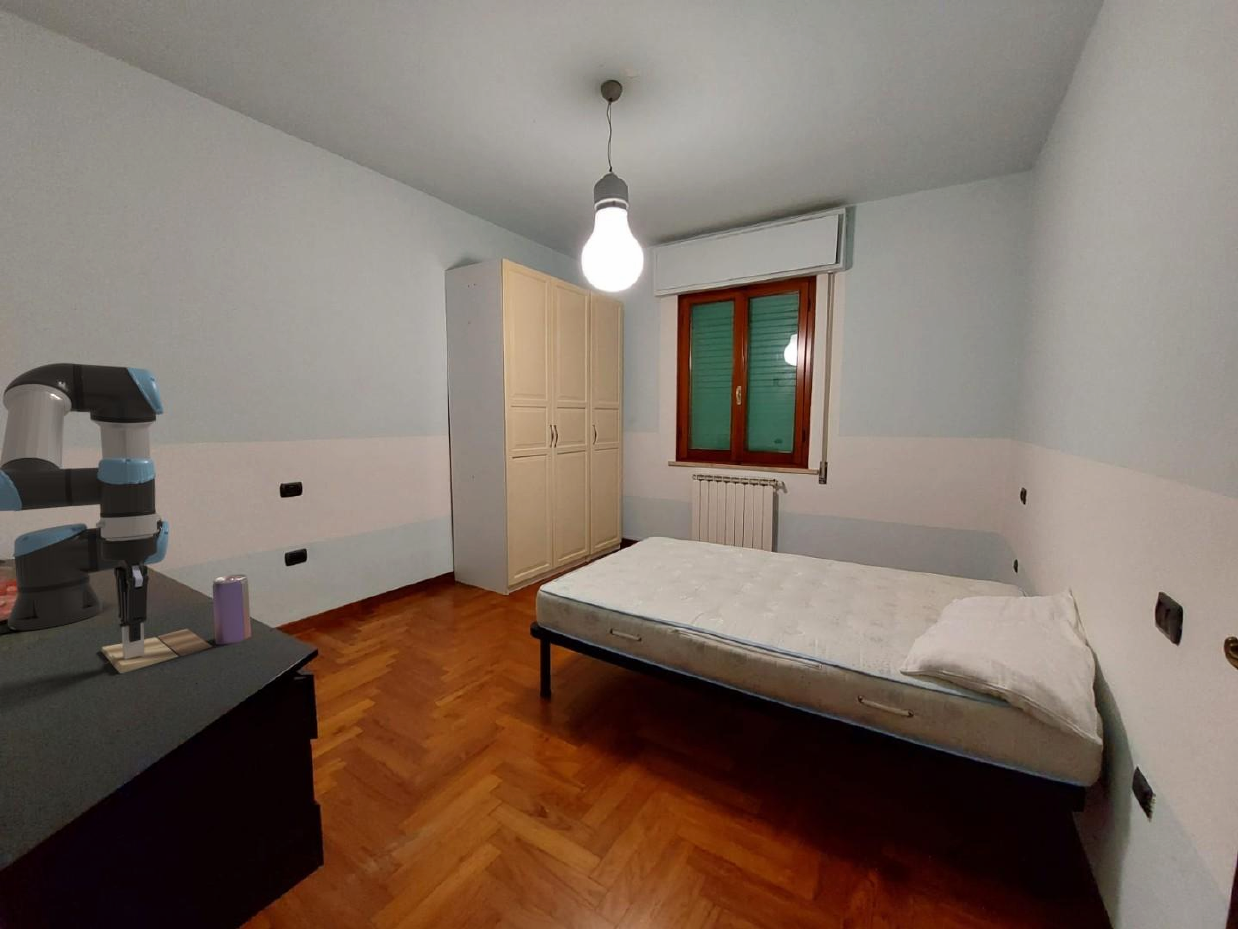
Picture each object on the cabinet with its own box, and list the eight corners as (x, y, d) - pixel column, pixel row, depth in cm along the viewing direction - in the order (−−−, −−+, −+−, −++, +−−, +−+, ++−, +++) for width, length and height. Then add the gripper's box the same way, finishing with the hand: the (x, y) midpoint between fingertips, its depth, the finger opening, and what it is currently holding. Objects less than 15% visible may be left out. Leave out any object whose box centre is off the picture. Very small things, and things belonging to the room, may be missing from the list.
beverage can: (231, 652, 98) (227, 583, 97) (208, 649, 99) (204, 581, 98) (258, 640, 104) (254, 574, 103) (236, 638, 105) (233, 573, 104)
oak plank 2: (110, 662, 91) (111, 654, 91) (165, 653, 97) (166, 646, 98) (120, 673, 86) (121, 665, 86) (177, 664, 93) (178, 656, 93)
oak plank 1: (101, 654, 95) (102, 647, 96) (155, 644, 102) (155, 637, 102) (110, 664, 91) (110, 657, 91) (165, 653, 98) (166, 646, 98)
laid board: (157, 643, 103) (157, 636, 103) (187, 634, 107) (187, 628, 107) (181, 663, 93) (180, 656, 93) (213, 653, 97) (212, 646, 97)
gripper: (93, 536, 90) (98, 654, 91) (108, 544, 83) (113, 672, 84) (147, 530, 96) (151, 641, 97) (165, 537, 89) (169, 657, 90)
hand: (133, 655), depth 90 cm, fingers closed
